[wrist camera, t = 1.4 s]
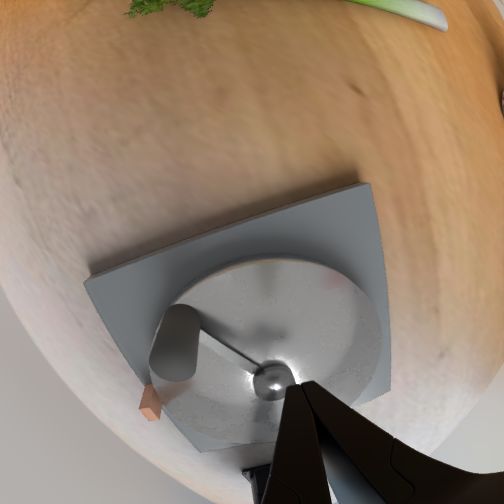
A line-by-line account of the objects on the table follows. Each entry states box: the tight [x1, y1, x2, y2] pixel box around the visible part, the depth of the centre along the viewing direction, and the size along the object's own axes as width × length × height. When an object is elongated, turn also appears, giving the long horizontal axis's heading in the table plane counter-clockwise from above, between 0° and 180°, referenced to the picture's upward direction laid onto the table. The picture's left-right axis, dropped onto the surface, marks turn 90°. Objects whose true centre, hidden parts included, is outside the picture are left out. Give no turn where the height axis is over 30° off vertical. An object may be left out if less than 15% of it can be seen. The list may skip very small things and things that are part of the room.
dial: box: [149, 253, 382, 444], centre depth 17 cm, size 18×18×6 cm
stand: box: [83, 182, 391, 453], centre depth 20 cm, size 22×22×4 cm
